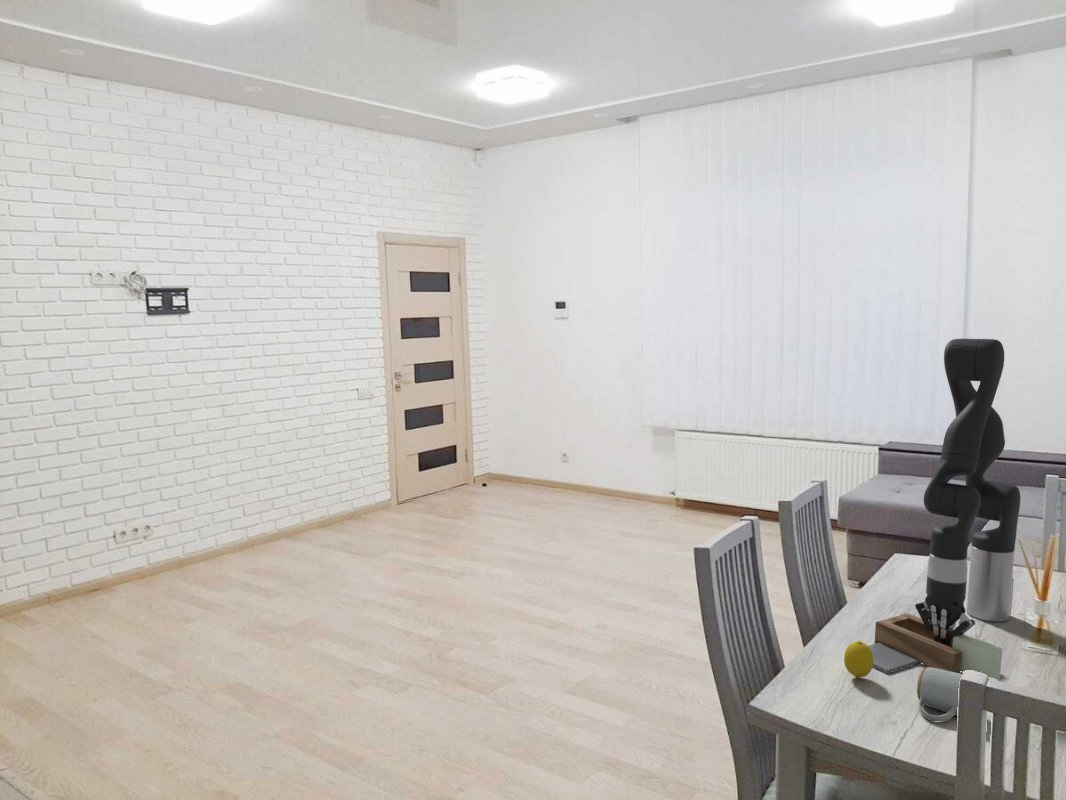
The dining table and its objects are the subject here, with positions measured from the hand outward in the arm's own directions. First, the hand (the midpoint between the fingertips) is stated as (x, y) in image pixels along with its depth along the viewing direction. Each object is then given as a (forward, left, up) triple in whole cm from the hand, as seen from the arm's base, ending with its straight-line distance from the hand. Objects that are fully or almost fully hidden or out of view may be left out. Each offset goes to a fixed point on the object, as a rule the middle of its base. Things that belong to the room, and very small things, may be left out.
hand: (941, 653), depth 174 cm
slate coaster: (+11, -6, -2) cm, 13 cm away
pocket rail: (0, -3, -2) cm, 4 cm away
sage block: (0, +8, -2) cm, 8 cm away
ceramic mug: (+20, +14, -2) cm, 25 cm away
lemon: (+23, -3, -2) cm, 23 cm away
